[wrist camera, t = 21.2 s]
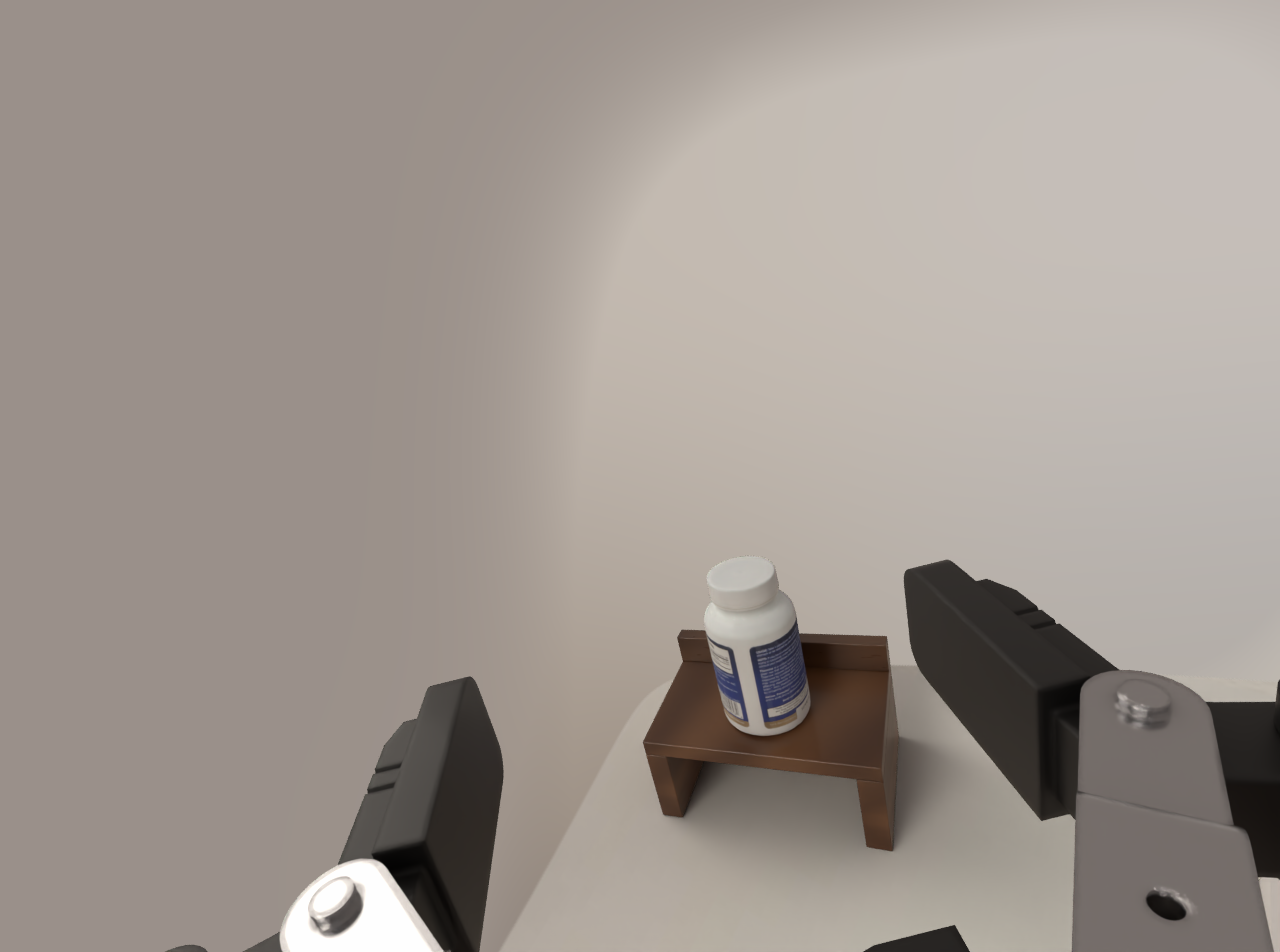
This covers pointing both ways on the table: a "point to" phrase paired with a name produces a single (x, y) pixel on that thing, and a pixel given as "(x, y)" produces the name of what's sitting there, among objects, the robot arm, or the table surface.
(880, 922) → the table surface
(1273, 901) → the white flared handle
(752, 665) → the pill bottle
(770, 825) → the table surface
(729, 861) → the table surface
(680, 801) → the shelf
